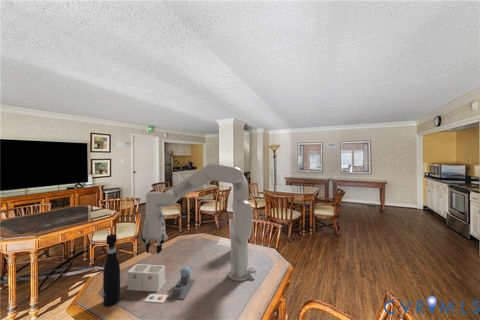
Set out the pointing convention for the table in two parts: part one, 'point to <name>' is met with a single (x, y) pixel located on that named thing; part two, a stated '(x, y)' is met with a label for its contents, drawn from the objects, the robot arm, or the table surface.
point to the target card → (156, 298)
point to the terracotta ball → (153, 248)
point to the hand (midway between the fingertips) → (154, 251)
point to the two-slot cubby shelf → (146, 277)
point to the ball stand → (181, 288)
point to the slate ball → (185, 272)
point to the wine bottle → (111, 274)
